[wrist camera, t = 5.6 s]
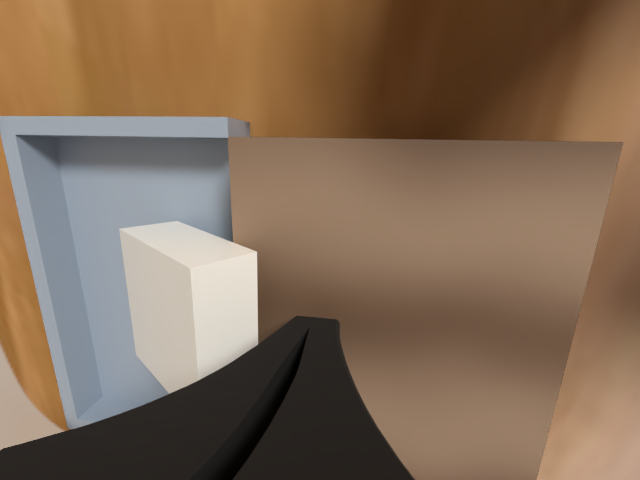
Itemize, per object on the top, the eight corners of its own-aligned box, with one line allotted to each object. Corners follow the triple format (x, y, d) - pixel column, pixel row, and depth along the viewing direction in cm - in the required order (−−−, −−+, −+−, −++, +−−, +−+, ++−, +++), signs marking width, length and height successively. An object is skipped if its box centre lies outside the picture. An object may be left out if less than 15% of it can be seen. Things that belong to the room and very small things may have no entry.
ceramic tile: (258, 395, 11) (202, 432, 9) (186, 334, 14) (135, 354, 12) (257, 251, 9) (190, 268, 8) (176, 220, 12) (119, 228, 11)
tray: (259, 423, 15) (245, 459, 13) (100, 399, 16) (67, 428, 14) (249, 122, 11) (227, 116, 10) (47, 121, 13) (-4, 116, 11)
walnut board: (499, 449, 13) (527, 515, 11) (266, 414, 15) (244, 464, 12) (564, 145, 10) (623, 142, 8) (258, 140, 12) (227, 136, 9)
